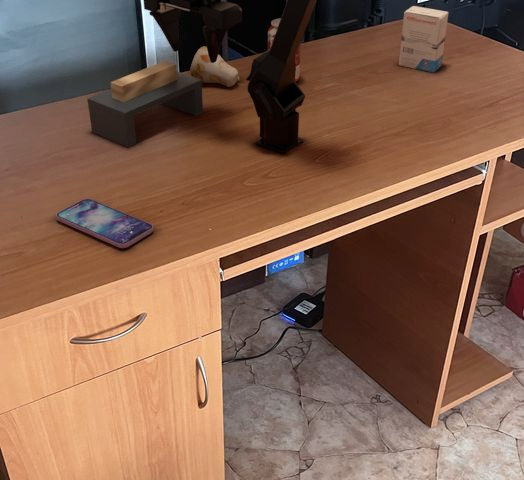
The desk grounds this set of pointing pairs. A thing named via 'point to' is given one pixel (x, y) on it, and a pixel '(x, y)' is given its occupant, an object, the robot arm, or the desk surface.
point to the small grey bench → (141, 107)
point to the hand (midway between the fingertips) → (194, 56)
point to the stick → (144, 81)
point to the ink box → (423, 38)
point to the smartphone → (105, 223)
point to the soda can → (271, 36)
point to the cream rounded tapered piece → (212, 69)
